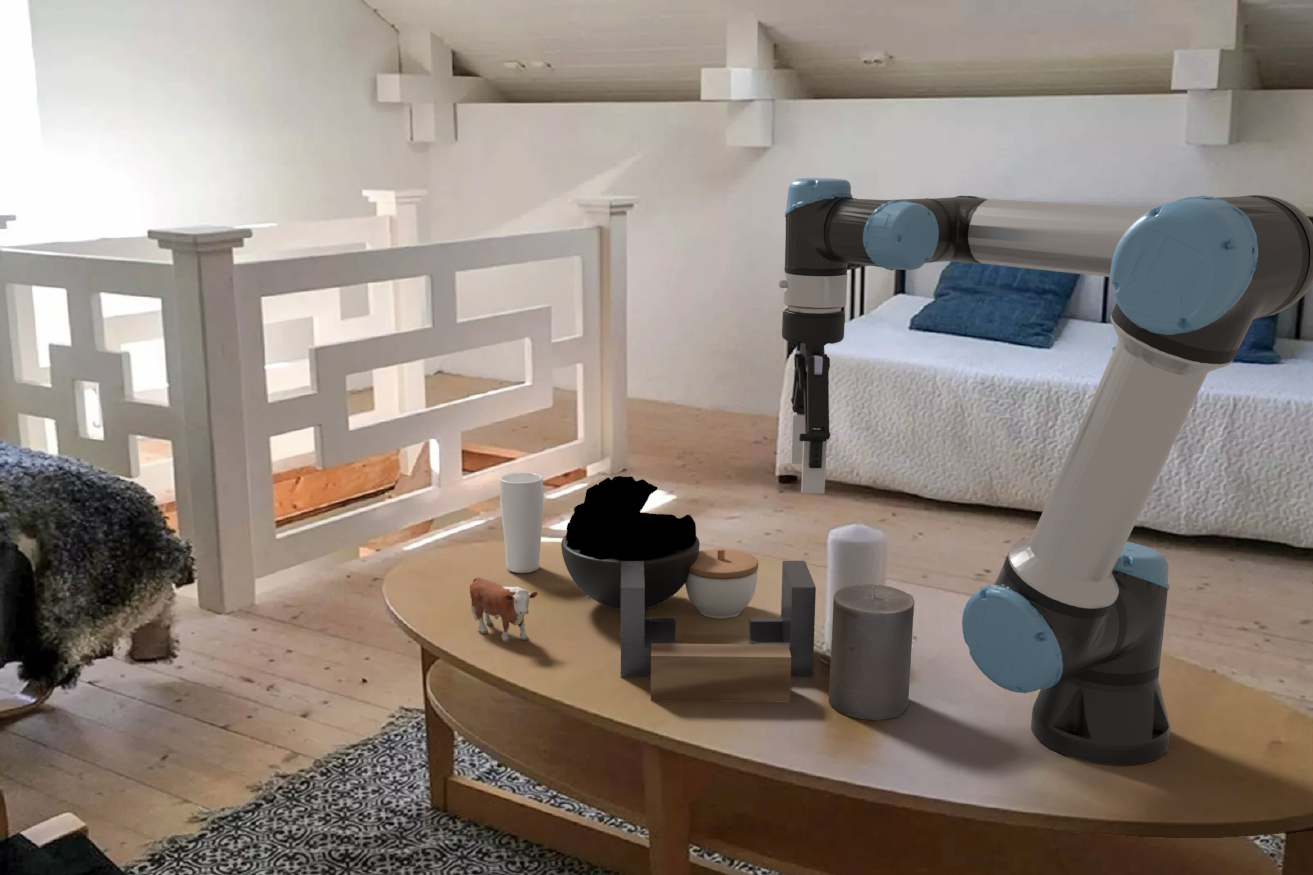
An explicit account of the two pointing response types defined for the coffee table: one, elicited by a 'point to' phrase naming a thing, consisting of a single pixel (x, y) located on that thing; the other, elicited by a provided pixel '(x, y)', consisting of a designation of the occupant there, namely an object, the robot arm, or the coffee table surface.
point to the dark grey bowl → (627, 543)
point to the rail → (720, 672)
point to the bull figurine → (499, 605)
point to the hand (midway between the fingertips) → (806, 477)
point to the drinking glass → (522, 520)
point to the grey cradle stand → (762, 631)
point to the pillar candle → (871, 651)
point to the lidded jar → (722, 582)
